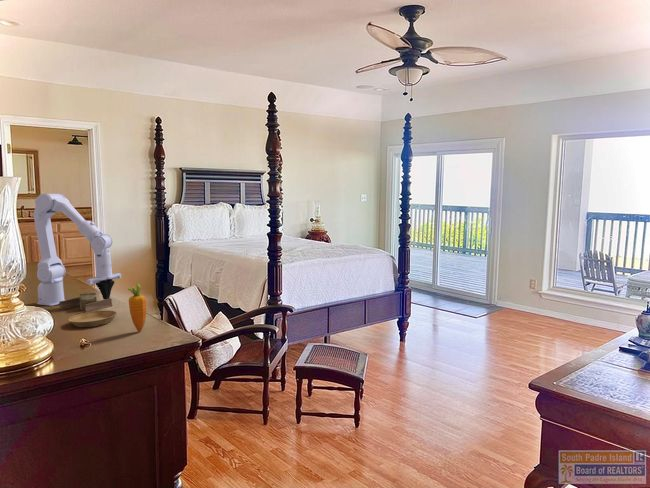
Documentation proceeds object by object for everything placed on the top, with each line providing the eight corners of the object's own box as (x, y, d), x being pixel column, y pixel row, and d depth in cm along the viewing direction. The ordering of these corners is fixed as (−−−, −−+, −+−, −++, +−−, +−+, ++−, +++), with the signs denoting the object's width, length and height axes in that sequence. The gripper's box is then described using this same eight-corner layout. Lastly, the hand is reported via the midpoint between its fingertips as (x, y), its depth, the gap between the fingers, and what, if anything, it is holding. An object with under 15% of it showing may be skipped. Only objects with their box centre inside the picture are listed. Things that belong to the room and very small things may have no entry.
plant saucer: (70, 332, 150) (69, 324, 150) (67, 322, 162) (66, 314, 162) (120, 324, 158) (120, 316, 157) (113, 315, 170) (113, 308, 170)
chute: (60, 309, 180) (59, 301, 180) (86, 302, 190) (85, 295, 190) (86, 312, 174) (85, 304, 173) (112, 306, 183) (111, 298, 183)
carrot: (137, 334, 144) (134, 286, 142) (127, 332, 147) (123, 285, 145) (151, 330, 148) (148, 283, 146) (141, 328, 151) (137, 282, 149)
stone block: (80, 311, 176) (79, 298, 176) (79, 306, 186) (78, 293, 186) (98, 309, 179) (97, 296, 178) (96, 304, 189) (95, 291, 188)
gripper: (94, 268, 180) (97, 303, 182) (125, 263, 193) (128, 295, 194) (81, 267, 183) (85, 302, 185) (113, 262, 196) (116, 294, 198)
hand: (106, 298), depth 190 cm, fingers closed
